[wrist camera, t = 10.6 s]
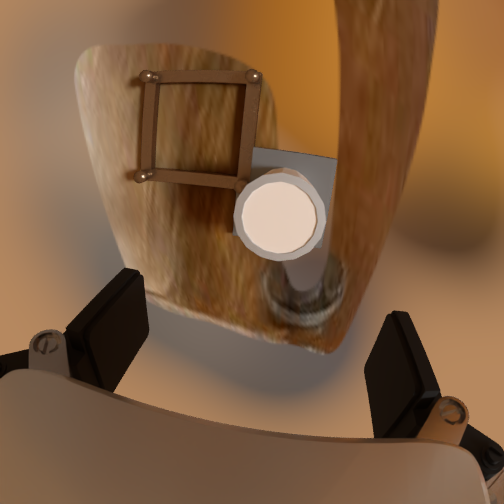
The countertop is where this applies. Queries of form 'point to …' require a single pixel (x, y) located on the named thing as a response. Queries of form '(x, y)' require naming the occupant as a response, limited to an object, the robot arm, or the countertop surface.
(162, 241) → the countertop surface
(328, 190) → the coaster
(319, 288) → the countertop surface
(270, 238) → the shot glass
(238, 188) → the brown square frame
